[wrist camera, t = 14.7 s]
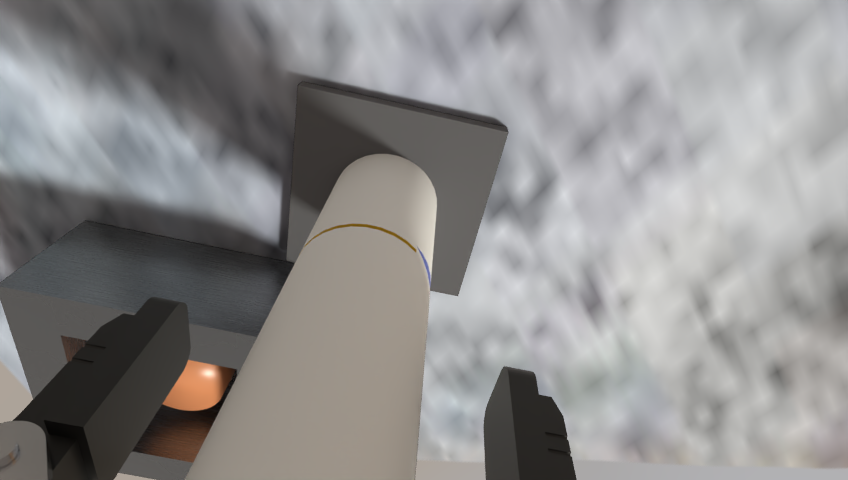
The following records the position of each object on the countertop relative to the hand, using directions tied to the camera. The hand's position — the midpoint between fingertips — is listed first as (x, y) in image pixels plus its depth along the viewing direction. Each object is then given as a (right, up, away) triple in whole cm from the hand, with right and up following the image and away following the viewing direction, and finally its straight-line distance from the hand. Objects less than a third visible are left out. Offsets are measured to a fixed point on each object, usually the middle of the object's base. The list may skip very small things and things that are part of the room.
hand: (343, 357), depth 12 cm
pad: (+1, +5, +8) cm, 10 cm away
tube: (0, +5, +8) cm, 9 cm away
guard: (-9, -2, +13) cm, 16 cm away
